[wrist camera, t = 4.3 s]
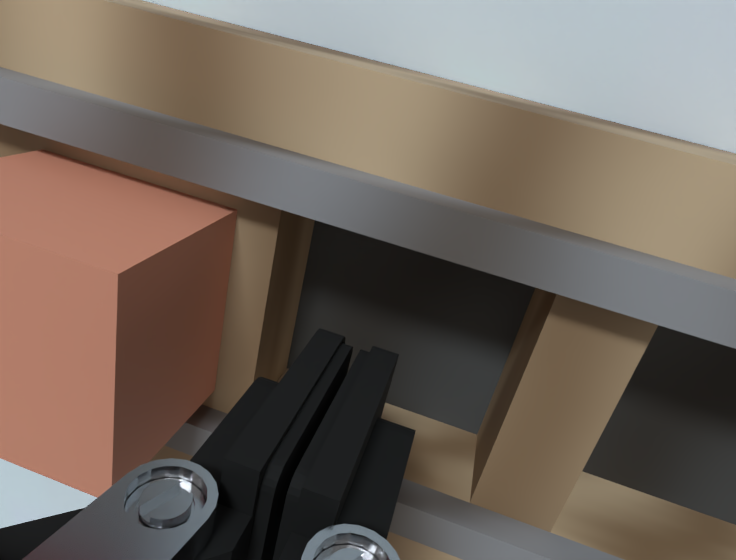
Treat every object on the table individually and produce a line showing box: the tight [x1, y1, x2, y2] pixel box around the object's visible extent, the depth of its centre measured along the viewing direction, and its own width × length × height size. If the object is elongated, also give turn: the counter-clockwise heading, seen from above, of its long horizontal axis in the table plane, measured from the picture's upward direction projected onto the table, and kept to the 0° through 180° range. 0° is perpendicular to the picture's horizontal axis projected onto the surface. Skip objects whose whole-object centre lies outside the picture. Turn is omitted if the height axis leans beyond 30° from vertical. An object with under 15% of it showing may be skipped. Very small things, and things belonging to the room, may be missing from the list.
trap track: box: [0, 0, 736, 560], centre depth 13 cm, size 34×12×6 cm, turn 77°
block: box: [0, 149, 237, 498], centre depth 12 cm, size 5×5×4 cm
